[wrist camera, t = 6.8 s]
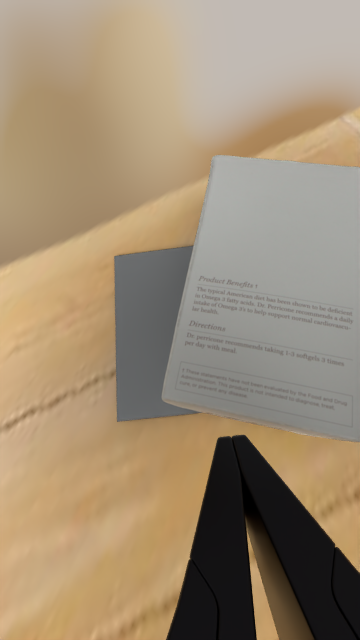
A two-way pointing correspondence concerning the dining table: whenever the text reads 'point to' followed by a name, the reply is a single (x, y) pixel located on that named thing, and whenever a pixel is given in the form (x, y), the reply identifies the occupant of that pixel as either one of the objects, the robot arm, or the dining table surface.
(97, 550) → the dining table surface
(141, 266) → the mat
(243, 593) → the robot arm
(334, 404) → the supplement box
